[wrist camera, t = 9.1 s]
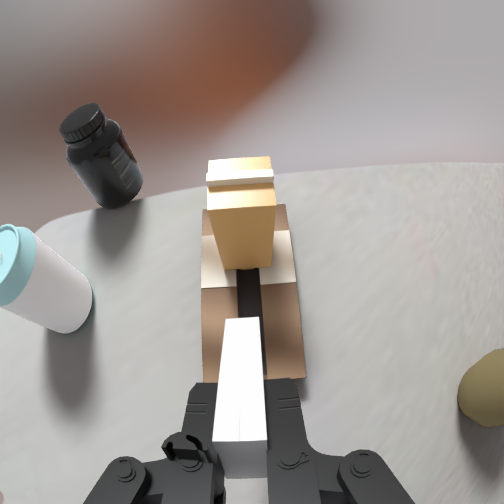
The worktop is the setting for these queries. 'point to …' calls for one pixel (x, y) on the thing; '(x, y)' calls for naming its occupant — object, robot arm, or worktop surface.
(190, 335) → the worktop surface
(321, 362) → the worktop surface
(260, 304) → the console
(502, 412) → the squeeze bottle
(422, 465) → the worktop surface
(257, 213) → the fader tab
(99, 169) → the supplement bottle
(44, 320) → the can
